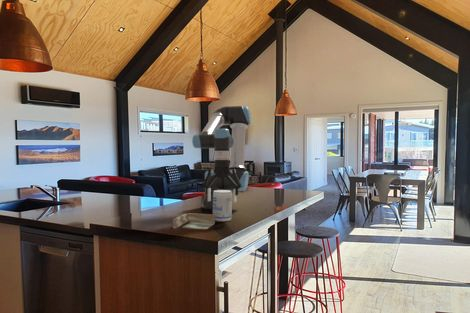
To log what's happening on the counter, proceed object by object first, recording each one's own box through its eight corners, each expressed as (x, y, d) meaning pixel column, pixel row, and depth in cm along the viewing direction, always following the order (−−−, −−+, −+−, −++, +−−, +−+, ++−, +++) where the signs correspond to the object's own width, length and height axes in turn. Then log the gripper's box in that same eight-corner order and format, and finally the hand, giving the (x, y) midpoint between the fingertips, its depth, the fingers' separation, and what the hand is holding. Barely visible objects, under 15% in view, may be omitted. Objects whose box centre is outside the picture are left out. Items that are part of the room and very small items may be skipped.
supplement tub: (209, 220, 166) (209, 191, 166) (218, 217, 175) (217, 189, 174) (226, 222, 162) (226, 192, 162) (234, 218, 171) (234, 190, 170)
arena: (186, 221, 166) (186, 213, 166) (216, 222, 162) (216, 214, 162) (172, 228, 151) (172, 219, 151) (205, 230, 147) (205, 221, 147)
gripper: (196, 159, 167) (196, 201, 167) (244, 159, 161) (244, 203, 161) (201, 159, 174) (201, 199, 174) (247, 159, 168) (247, 201, 168)
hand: (222, 201), depth 168 cm, fingers open, 13 cm apart
